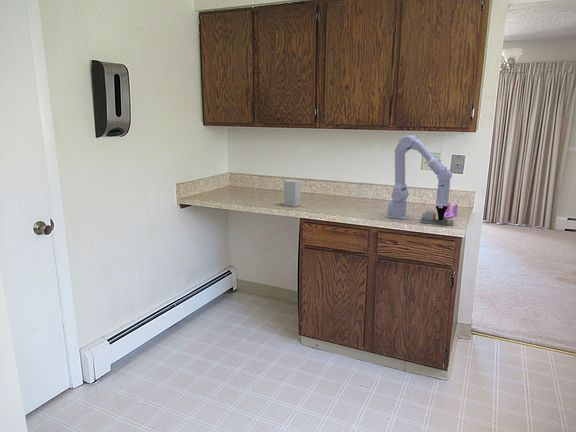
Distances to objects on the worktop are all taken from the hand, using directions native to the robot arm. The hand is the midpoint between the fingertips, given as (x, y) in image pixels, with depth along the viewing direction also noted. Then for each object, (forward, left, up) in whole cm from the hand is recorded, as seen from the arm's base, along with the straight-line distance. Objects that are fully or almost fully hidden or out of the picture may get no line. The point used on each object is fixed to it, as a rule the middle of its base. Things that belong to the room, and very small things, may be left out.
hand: (440, 219), depth 223 cm
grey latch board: (-2, +3, -2) cm, 4 cm away
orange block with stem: (-6, +5, -1) cm, 8 cm away
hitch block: (-4, +5, -2) cm, 6 cm away
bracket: (+3, +19, -2) cm, 19 cm away
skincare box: (-86, +12, -2) cm, 87 cm away
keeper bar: (+2, 0, 0) cm, 2 cm away
